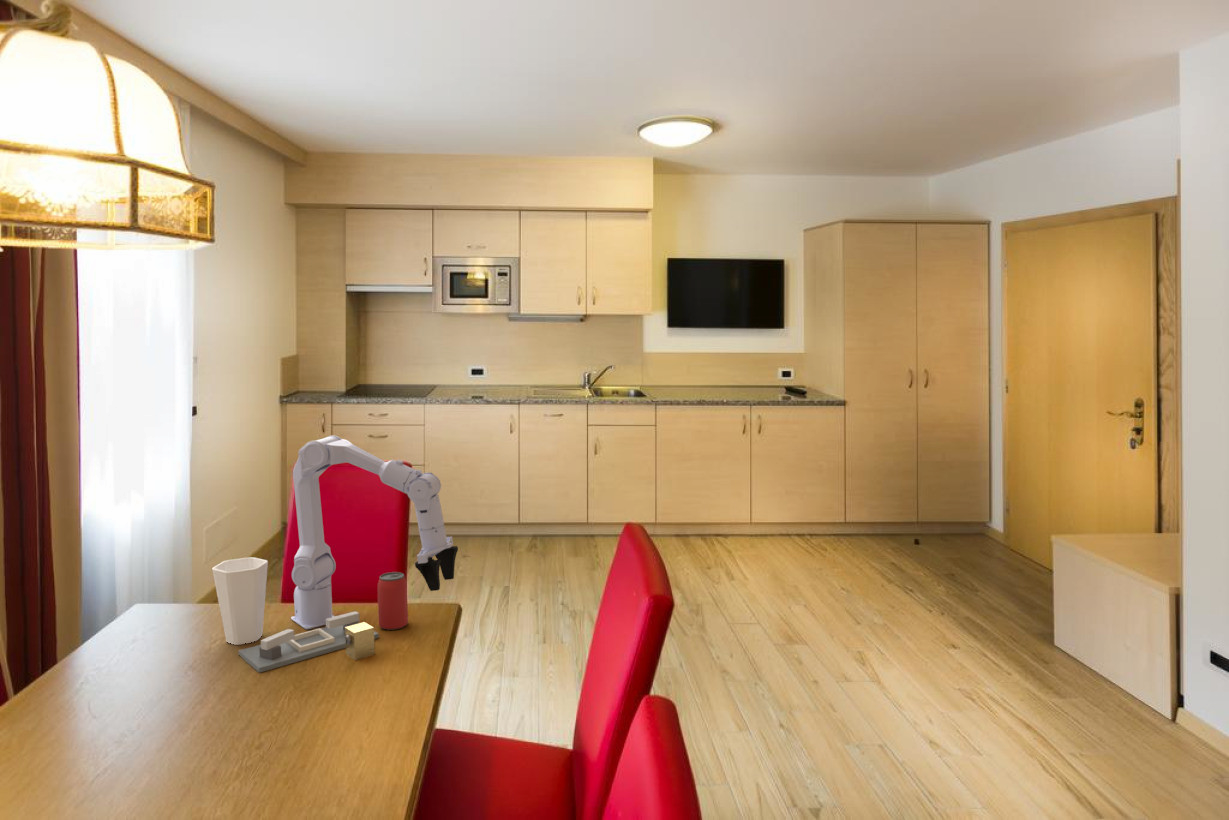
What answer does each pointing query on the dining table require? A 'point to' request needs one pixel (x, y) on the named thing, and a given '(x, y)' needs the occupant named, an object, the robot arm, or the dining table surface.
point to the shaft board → (300, 644)
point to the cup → (241, 598)
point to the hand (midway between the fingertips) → (442, 584)
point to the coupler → (359, 641)
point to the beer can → (392, 601)
